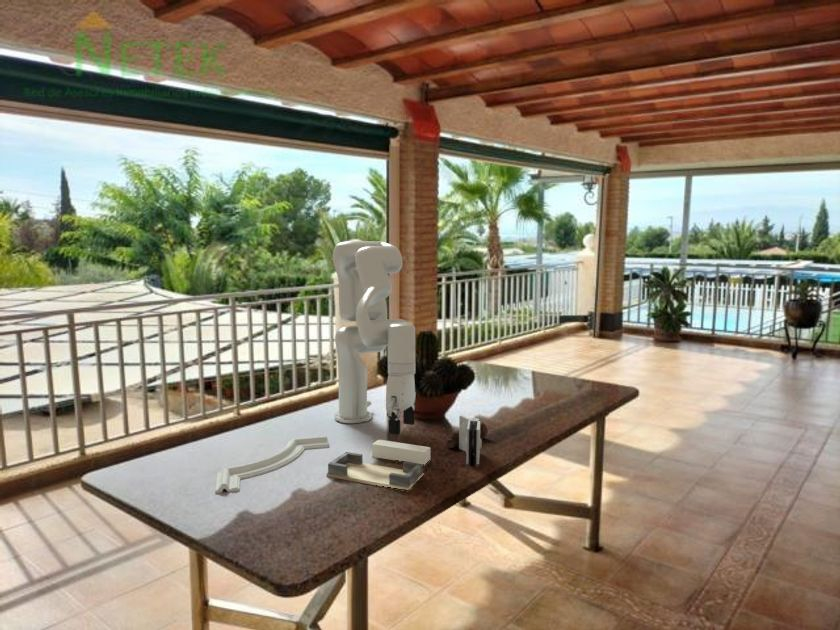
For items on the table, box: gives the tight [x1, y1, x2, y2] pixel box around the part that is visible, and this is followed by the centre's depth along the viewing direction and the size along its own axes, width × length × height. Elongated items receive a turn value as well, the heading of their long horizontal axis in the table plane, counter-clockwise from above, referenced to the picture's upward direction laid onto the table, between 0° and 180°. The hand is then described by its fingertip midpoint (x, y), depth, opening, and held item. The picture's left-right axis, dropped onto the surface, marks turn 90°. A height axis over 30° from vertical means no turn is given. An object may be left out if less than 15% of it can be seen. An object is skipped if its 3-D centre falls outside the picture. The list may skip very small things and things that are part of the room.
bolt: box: [445, 421, 489, 449], centre depth 178 cm, size 6×5×15 cm
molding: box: [214, 435, 329, 494], centre depth 162 cm, size 42×12×3 cm, turn 151°
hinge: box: [458, 414, 483, 466], centre depth 167 cm, size 14×5×10 cm, turn 5°
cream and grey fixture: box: [326, 451, 425, 491], centre depth 153 cm, size 10×23×3 cm, turn 68°
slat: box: [371, 439, 431, 466], centre depth 165 cm, size 4×16×4 cm, turn 67°
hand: (401, 428), depth 164 cm, fingers open, 9 cm apart
